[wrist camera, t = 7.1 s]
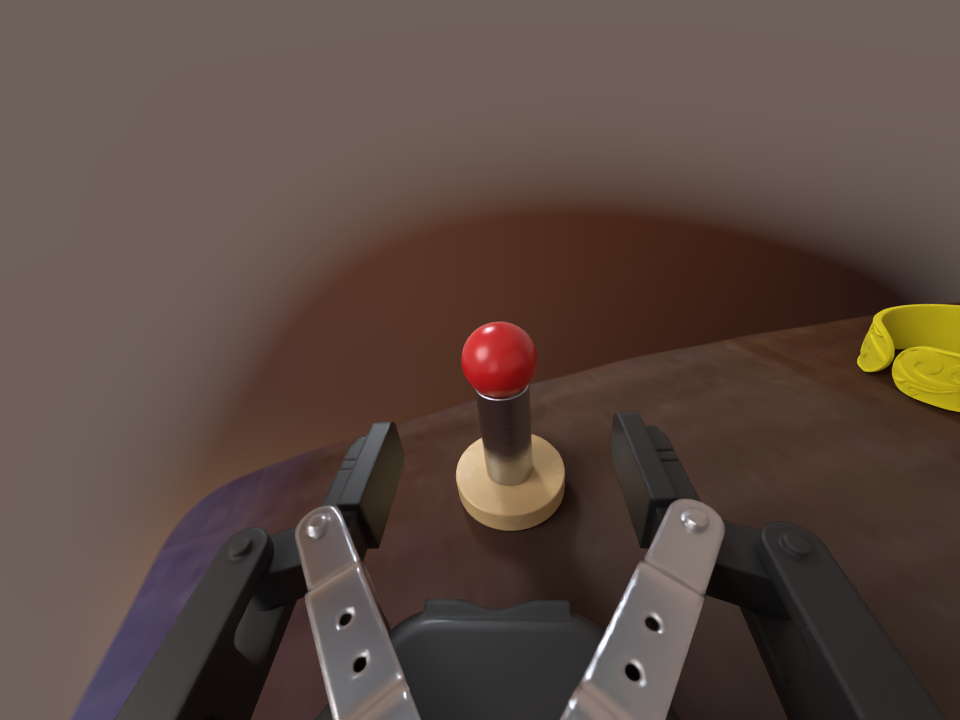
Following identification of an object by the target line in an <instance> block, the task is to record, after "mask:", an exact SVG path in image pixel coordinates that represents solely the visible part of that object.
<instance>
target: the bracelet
mask: <svg viewBox="0 0 960 720" xmlns="http://www.w3.org/2000/svg"><path fill="white" fill-rule="evenodd" d="M895 349H906V350H904V351H902V352H901V353H900V354H899V355H898V356H897V357H896V359H895V361H894V363H893V366H892V376H893V379H894V382H895V384H896V386H897V387H898V388H899V389H900V390H901V391H902V392H903V393H905V394H906V395H908V396H910V397H912V398H915V399H917V400H919V401H922V402H925V403H927V404H930V405H933V406H937V407H940V408H943V409H947V410H951V411H956V412H960V306H958V305H943V304H920V305H919V304H918V305H905V306H899V307H893V308H888V309H885V310H882V311H881V312H879V313H877V314H876V315H875V316H874V318H873V323H872V325H871V327H870V329H869V331H868V333H867V335H866V337H865V339H864V342H863V344H862V347H861V355H860V356H859V357H858V360H857V363H858V365H859V366H860V368H861V369H862V370H863V371H866V372H878V371H880V370H883V369H885V368H886V367H888V366H889V365H890V363H891V362H892V360H893V358H894V351H895Z"/></svg>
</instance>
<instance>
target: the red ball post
mask: <svg viewBox="0 0 960 720" xmlns="http://www.w3.org/2000/svg"><path fill="white" fill-rule="evenodd" d="M462 368H463V371H464V374H465V376H466V378H467V380H468V381H469V383H470V384H471V385H472V386H473V387H474V388H475V393H476V400H477V407H478V414H479V421H480V428H481V435H482V438H481V439H479V440H477V441H476V442H474V443H473V444H472V445H471V446H469V447H468V448H467V449H466V451H465V452H464V453H463V455H462V456H461V458H460V460H459V463H458V466H457V470H456V480H457V486H458V490H459V495H460V499H461V501H462V504H463V506H464V507H465V509H466V510H467V512H468V513H469V514H470V515H471V516H472V517H473V518H475V519H476V520H477V521H479V522H480V523H482V524H484V525H486V526H488V527H491V528H494V529H499V530H506V531H516V530H523V529H528V528H531V527H534V526H536V525H538V524H540V523H542V522H544V521H545V520H547V519H548V518H549V517H550V516H551V515H552V514H553V513H554V512H555V511H556V510H557V508H558V507H559V505H560V504H561V501H562V499H563V496H564V490H565V467H564V463H563V460H562V458H561V456H560V455H559V453H558V451H557V450H556V449H555V448H554V447H553V446H552V445H551V444H550V443H549V442H547V441H546V440H544V439H542V438H541V437H538V436H536V435H534V434H531V415H530V394H529V383H530V382H531V380H532V378H533V377H534V374H535V371H536V368H537V351H536V348H535V345H534V343H533V341H532V340H531V338H530V336H529V335H528V334H527V333H526V332H525V331H524V330H522V329H521V328H520V327H518V326H516V325H513V324H511V323H507V322H493V323H489V324H485V325H483V326H481V327H480V328H478V329H477V330H475V331H474V332H473V333H472V334H471V335H470V337H469V338H468V339H467V341H466V343H465V345H464V348H463V352H462Z"/></svg>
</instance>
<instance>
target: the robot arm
mask: <svg viewBox="0 0 960 720" xmlns="http://www.w3.org/2000/svg"><path fill="white" fill-rule="evenodd" d="M611 456H612V461H613V464H614V467H615V470H616V474H617V477H618V480H619V483H620V486H621V489H622V492H623V495H624V498H625V502H626V505H627V508H628V511H629V514H630V517H631V520H632V523H633V526H634V530H635V533H636V536H637V539H638V542H639V545H640V548H649V549H648V551H647V554H646V556H645V557H644V559H641V560H640V562H639V563H638V565H637V567H636V569H635V571H634V573H633V575H632V577H631V579H630V582H629V584H628V586H627V588H626V590H625V592H624V594H623V596H622V598H621V600H620V602H619V604H618V606H617V608H616V610H615V612H614V614H613V617H612V619H611V621H610V623H609V625H608V627H607V629H606V631H605V630H604V629H602V628H601V627H600V626H598V625H597V624H596V623H594V622H592V621H591V620H589V619H587V618H585V617H583V616H581V615H579V614H576V613H572V612H571V610H570V602H569V600H532V601H528V602H525V603H521V604H518V605H514V606H510V607H507V608H503V609H500V610H492V609H489V608H485V607H482V606H479V605H476V604H473V603H469V602H466V601H463V600H460V599H426V600H425V605H424V611H422V612H419V613H416V614H414V615H412V616H410V617H408V618H406V619H405V620H403V621H402V622H400V623H399V624H398V625H396V626H395V627H394V628H392V625H391V623H390V621H389V619H388V617H387V614H386V612H385V610H384V607H383V605H382V602H381V600H380V598H379V595H378V593H377V590H376V588H375V585H374V583H373V580H372V578H371V576H370V573H369V571H368V568H367V566H366V563H365V561H364V557H365V554H366V551H367V549H373V548H379V546H380V543H381V539H382V536H383V533H384V529H385V526H386V523H387V520H388V516H389V513H390V510H391V506H392V503H393V500H394V496H395V493H396V490H397V486H398V483H399V480H400V476H401V473H402V470H403V466H404V451H403V447H402V444H401V441H400V438H399V434H398V431H397V428H396V425H395V423H394V422H380V423H373V424H372V425H371V427H370V430H369V432H368V434H367V436H366V437H359V438H358V439H357V440H356V441H355V442H354V443H353V444H352V445H351V446H350V447H349V449H348V451H347V453H346V456H345V458H344V461H343V462H342V464H341V466H340V468H339V471H338V472H337V474H336V476H335V478H334V480H333V482H332V484H331V486H330V488H329V490H328V492H327V494H326V496H325V498H324V500H323V503H322V505H321V506H320V507H319V508H316V509H314V510H312V511H311V512H309V513H308V514H307V515H306V516H304V517H303V519H302V520H301V521H300V522H299V524H298V526H297V527H294V528H291V529H288V530H285V531H281V532H278V533H275V534H272V535H268V534H267V532H266V531H265V530H264V529H263V528H261V527H250V528H246V529H244V530H242V531H240V532H238V533H236V534H235V535H233V536H232V537H231V538H229V539H228V540H227V541H226V542H225V543H224V545H223V546H222V547H221V549H220V550H219V552H218V553H217V555H216V556H215V558H214V560H213V561H212V563H211V565H210V566H209V568H208V569H207V571H206V573H205V574H204V576H203V577H202V579H201V581H200V582H199V584H198V585H197V587H196V589H195V590H194V592H193V594H192V595H191V597H190V598H189V600H188V602H187V603H186V605H185V606H184V608H183V610H182V611H181V613H180V614H179V616H178V618H177V619H176V621H175V623H174V624H173V626H172V627H171V629H170V631H169V632H168V634H167V635H166V637H165V639H164V640H163V642H162V643H161V645H160V647H159V648H158V650H157V652H156V653H155V655H154V656H153V658H152V660H151V661H150V663H149V664H148V666H147V668H146V669H145V671H144V672H143V674H142V676H141V677H140V679H139V681H138V682H137V684H136V685H135V687H134V689H133V690H132V692H131V693H130V695H129V697H128V698H127V700H126V701H125V703H124V705H123V706H122V708H121V710H120V711H119V713H118V714H117V716H116V718H115V719H114V720H251V717H252V714H253V712H254V709H255V707H256V704H257V702H258V699H259V696H260V694H261V691H262V689H263V686H264V684H265V681H266V678H267V676H268V673H269V671H270V668H271V666H272V663H273V660H274V658H275V655H276V653H277V650H278V648H279V645H280V642H281V640H282V637H283V635H284V632H285V630H286V627H287V624H288V622H289V619H290V617H291V614H292V612H293V609H294V606H295V604H296V601H297V599H300V598H303V597H305V602H306V606H307V611H308V615H309V619H310V623H311V628H312V632H313V636H314V640H315V645H316V649H317V653H318V657H319V662H320V666H321V670H322V674H323V679H324V683H325V687H326V692H327V696H328V700H329V703H328V704H327V705H326V706H325V708H324V709H323V710H322V711H321V712H320V714H319V715H318V716H317V717H316V718H315V719H314V720H682V719H681V718H680V717H679V716H678V715H677V713H676V712H675V711H674V710H673V709H672V708H671V706H670V704H671V701H672V698H673V695H674V692H675V689H676V686H677V682H678V679H679V676H680V673H681V670H682V667H683V664H684V661H685V658H686V655H687V652H688V648H689V645H690V642H691V639H692V636H693V633H694V630H695V627H696V624H697V621H698V618H699V615H700V611H701V608H702V605H703V602H704V598H705V595H708V596H711V597H714V598H717V599H720V600H723V601H726V602H729V603H732V604H735V605H738V606H740V609H741V611H742V613H743V616H744V618H745V620H746V623H747V625H748V627H749V630H750V632H751V634H752V637H753V639H754V641H755V644H756V646H757V648H758V651H759V653H760V655H761V658H762V660H763V662H764V664H765V667H766V669H767V671H768V674H769V676H770V678H771V681H772V683H773V685H774V688H775V690H776V692H777V695H778V697H779V699H780V702H781V704H782V706H783V709H784V711H785V713H786V716H787V718H788V720H946V718H945V717H944V715H943V714H942V712H941V711H940V710H939V708H938V707H937V705H936V704H935V702H934V701H933V700H932V698H931V697H930V695H929V694H928V692H927V691H926V689H925V688H924V687H923V685H922V684H921V682H920V681H919V679H918V678H917V677H916V675H915V674H914V672H913V671H912V669H911V668H910V667H909V665H908V664H907V662H906V661H905V659H904V658H903V656H902V655H901V654H900V652H899V651H898V649H897V648H896V646H895V645H894V644H893V642H892V641H891V639H890V638H889V636H888V635H887V633H886V632H885V631H884V629H883V628H882V626H881V625H880V623H879V622H878V621H877V619H876V618H875V616H874V615H873V613H872V612H871V610H870V609H869V608H868V606H867V605H866V603H865V602H864V600H863V599H862V598H861V596H860V595H859V593H858V592H857V590H856V589H855V588H854V586H853V585H852V583H851V582H850V580H849V579H848V577H847V576H846V575H845V573H844V572H843V570H842V569H841V567H840V566H839V565H838V563H837V562H836V560H835V559H834V557H833V556H832V554H831V553H830V552H829V550H828V549H827V547H826V546H825V545H824V544H823V542H822V541H821V540H820V539H819V538H817V537H816V536H815V535H814V534H812V533H811V532H809V531H808V530H806V529H804V528H802V527H800V526H798V525H795V524H792V523H788V522H782V521H775V522H770V523H768V524H766V525H765V526H764V528H763V529H762V530H758V529H754V528H750V527H746V526H742V525H738V524H734V523H731V522H728V521H726V520H723V519H722V518H721V517H720V516H719V515H718V514H717V513H716V511H714V510H713V509H712V508H711V507H709V506H708V505H706V504H704V503H702V502H701V500H700V499H699V497H698V495H697V493H696V491H695V489H694V487H693V485H692V483H691V481H690V480H689V478H688V476H687V474H686V472H685V470H684V468H683V466H682V464H681V462H679V459H678V457H677V455H676V453H675V451H674V450H673V447H672V445H671V443H670V441H669V439H668V438H667V436H666V435H665V434H663V433H662V432H661V431H660V430H659V429H658V428H657V427H656V426H646V427H645V425H644V423H643V421H642V419H641V417H640V415H639V413H638V412H623V413H615V414H614V418H613V427H612V437H611Z"/></svg>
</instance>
